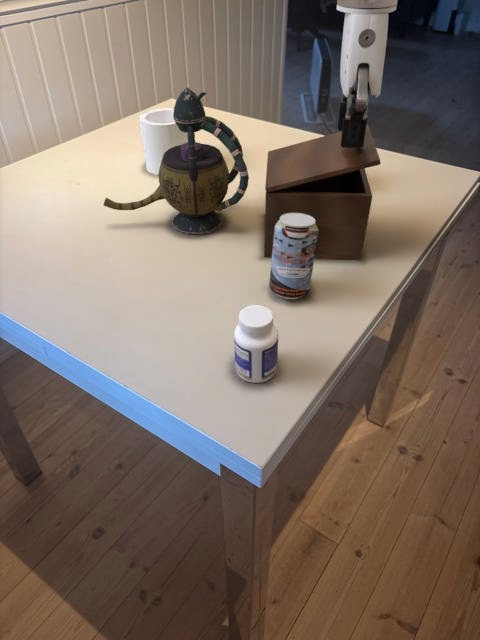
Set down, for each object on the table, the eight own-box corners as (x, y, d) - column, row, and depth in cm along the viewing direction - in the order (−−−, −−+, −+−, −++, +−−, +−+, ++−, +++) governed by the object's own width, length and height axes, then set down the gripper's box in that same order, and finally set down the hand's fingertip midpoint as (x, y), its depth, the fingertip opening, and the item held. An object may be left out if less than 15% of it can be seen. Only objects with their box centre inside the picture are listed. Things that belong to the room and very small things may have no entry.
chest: (352, 217, 90) (362, 157, 82) (360, 260, 79) (372, 196, 72) (266, 215, 91) (268, 156, 83) (264, 257, 80) (265, 193, 73)
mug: (153, 150, 114) (147, 103, 107) (196, 150, 114) (193, 103, 107) (142, 175, 104) (134, 125, 97) (189, 176, 104) (185, 125, 97)
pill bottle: (274, 352, 64) (276, 299, 58) (279, 382, 60) (282, 329, 54) (233, 354, 63) (232, 302, 58) (236, 385, 60) (234, 332, 54)
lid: (368, 129, 79) (364, 95, 76) (380, 164, 69) (375, 127, 65) (269, 155, 83) (260, 124, 80) (266, 193, 73) (256, 159, 70)
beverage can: (265, 302, 72) (267, 231, 64) (274, 273, 77) (277, 204, 69) (307, 308, 70) (315, 236, 62) (314, 278, 76) (322, 209, 68)
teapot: (249, 237, 85) (250, 97, 70) (104, 245, 84) (72, 104, 68) (242, 204, 94) (241, 74, 79) (112, 211, 93) (85, 79, 77)
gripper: (410, 6, 55) (382, 161, 67) (388, -14, 68) (368, 119, 80) (342, 7, 55) (327, 160, 67) (333, -13, 68) (322, 118, 80)
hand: (349, 137), depth 73 cm, fingers closed on lid, 6 cm apart
